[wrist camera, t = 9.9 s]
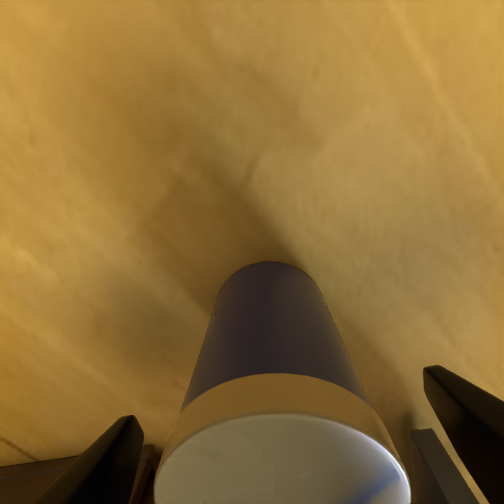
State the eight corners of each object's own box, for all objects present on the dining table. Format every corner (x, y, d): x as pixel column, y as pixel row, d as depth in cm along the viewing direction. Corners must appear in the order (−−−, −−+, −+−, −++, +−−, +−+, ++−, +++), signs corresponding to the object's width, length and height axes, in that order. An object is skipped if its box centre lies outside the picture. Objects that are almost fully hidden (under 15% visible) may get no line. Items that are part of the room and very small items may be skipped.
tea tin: (315, 247, 12) (404, 389, 5) (333, 347, 14) (419, 568, 6) (199, 273, 13) (111, 435, 5) (230, 365, 15) (196, 587, 7)
